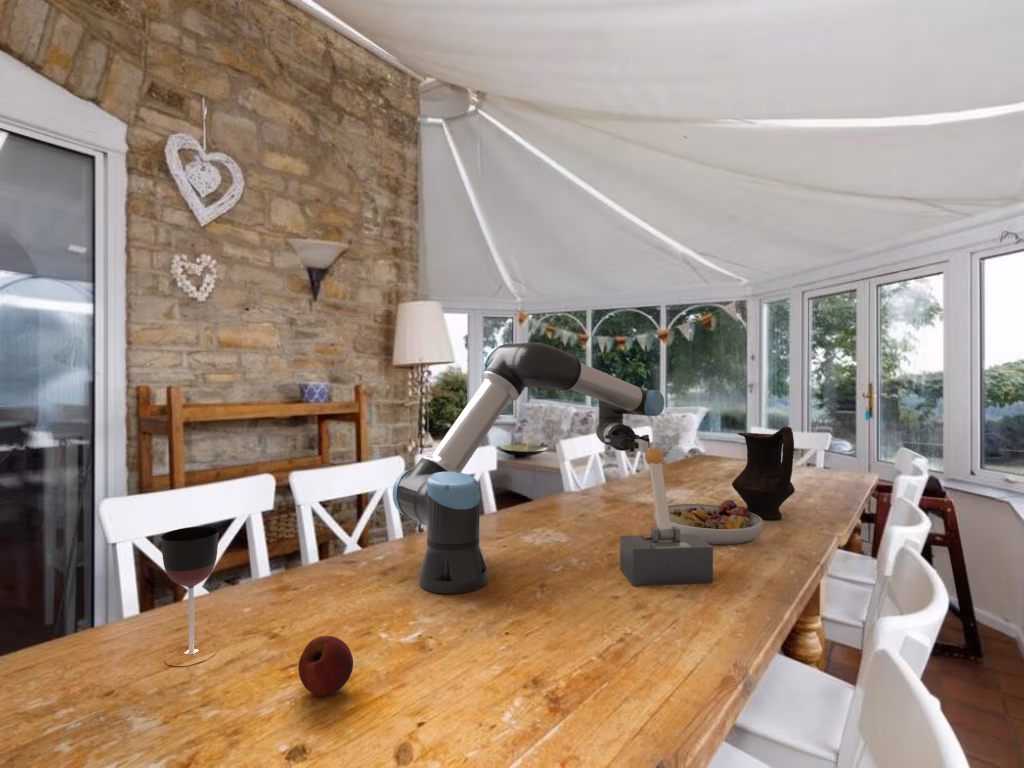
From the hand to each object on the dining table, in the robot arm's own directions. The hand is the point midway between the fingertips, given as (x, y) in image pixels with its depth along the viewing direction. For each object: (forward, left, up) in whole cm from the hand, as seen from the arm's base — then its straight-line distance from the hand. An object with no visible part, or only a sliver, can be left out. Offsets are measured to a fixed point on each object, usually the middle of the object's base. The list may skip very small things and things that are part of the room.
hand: (645, 447), depth 141 cm
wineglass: (-99, +9, -28) cm, 104 cm away
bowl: (+32, +5, -28) cm, 42 cm away
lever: (-8, -13, -19) cm, 24 cm away
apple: (-84, -14, -28) cm, 90 cm away
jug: (+61, +4, -28) cm, 67 cm away
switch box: (-7, -12, -27) cm, 31 cm away
